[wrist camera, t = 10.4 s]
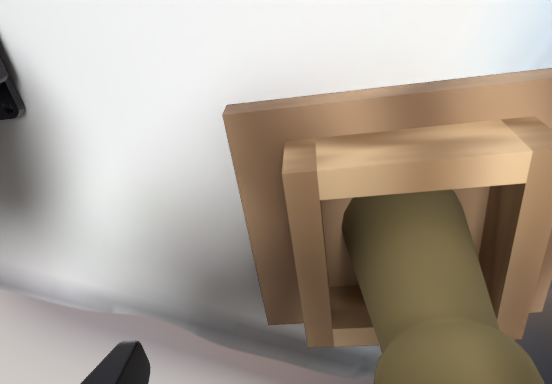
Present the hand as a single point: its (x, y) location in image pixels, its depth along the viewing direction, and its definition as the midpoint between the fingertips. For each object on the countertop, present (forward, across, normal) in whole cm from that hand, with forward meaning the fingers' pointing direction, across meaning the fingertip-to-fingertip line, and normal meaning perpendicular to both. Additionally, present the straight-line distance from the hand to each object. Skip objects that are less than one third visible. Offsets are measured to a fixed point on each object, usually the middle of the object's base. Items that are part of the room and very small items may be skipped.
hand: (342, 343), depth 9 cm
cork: (+12, -4, +6) cm, 13 cm away
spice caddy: (+12, -4, +6) cm, 14 cm away
